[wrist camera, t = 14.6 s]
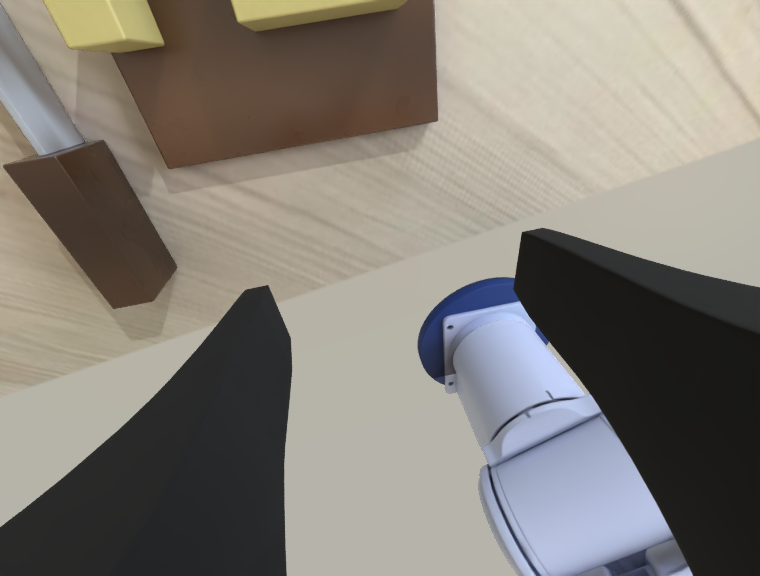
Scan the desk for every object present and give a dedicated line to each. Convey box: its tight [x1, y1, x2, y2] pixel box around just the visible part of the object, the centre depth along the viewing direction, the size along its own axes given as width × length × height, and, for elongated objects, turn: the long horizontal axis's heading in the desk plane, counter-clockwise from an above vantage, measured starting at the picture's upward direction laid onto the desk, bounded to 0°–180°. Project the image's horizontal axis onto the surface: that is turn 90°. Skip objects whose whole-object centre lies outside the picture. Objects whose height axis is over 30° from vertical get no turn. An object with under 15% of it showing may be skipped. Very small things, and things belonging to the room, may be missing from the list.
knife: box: [0, 4, 177, 309], centre depth 13 cm, size 15×2×3 cm, turn 9°
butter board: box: [111, 0, 438, 169], centre depth 13 cm, size 9×13×1 cm
